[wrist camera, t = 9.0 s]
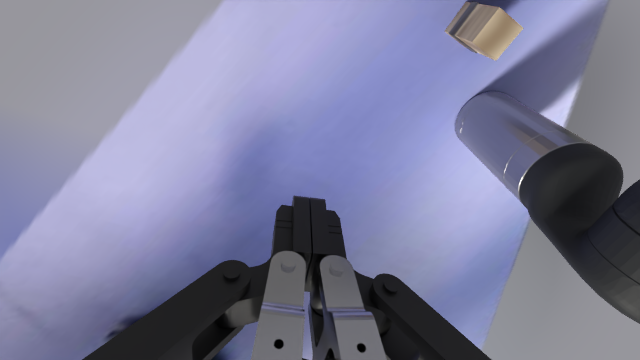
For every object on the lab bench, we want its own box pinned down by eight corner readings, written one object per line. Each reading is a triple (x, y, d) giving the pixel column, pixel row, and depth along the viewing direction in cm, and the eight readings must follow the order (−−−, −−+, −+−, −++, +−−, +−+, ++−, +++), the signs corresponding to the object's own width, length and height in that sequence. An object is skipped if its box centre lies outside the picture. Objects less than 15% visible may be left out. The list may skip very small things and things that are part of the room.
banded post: (488, 19, 41) (524, 27, 34) (465, 48, 43) (495, 61, 36) (465, 0, 40) (499, 5, 33) (443, 31, 41) (470, 42, 35)
